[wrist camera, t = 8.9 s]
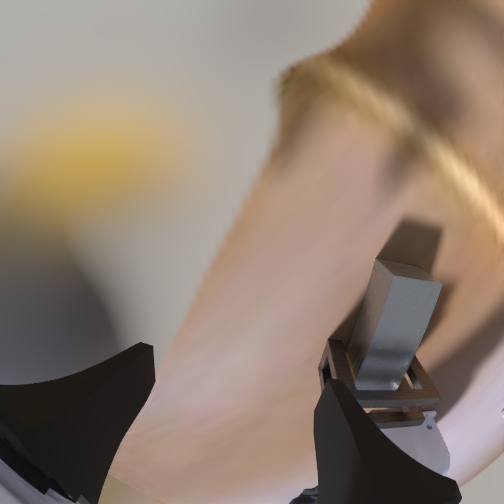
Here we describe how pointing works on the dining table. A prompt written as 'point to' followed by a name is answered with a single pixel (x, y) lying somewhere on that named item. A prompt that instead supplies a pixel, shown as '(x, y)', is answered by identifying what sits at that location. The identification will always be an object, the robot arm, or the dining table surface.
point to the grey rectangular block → (391, 324)
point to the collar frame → (404, 397)
